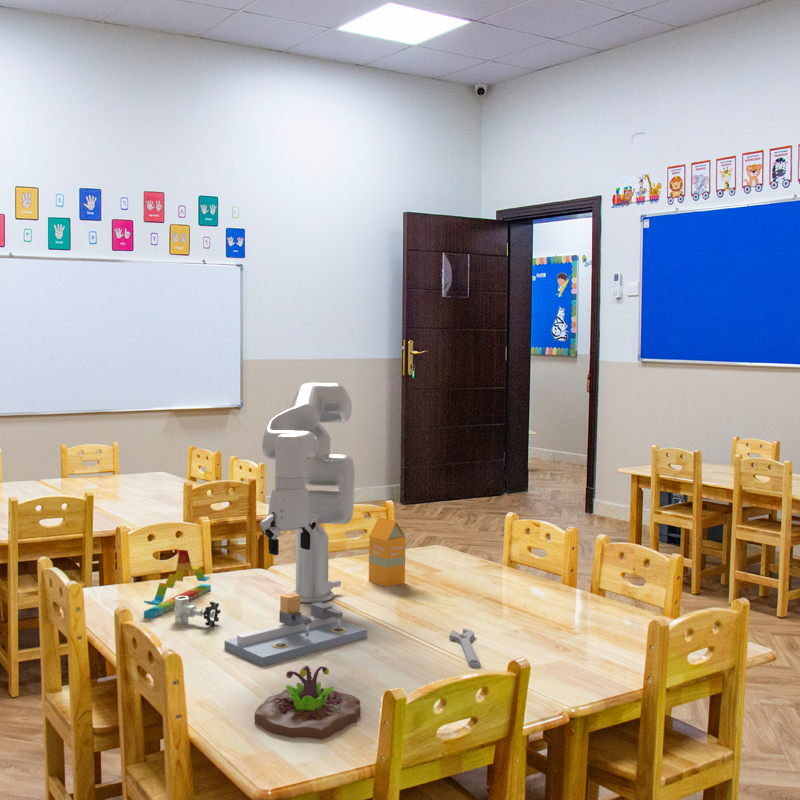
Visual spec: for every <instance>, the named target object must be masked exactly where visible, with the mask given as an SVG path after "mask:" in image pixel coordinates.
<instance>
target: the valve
mask: <svg viewBox="0 0 800 800" xmlns="http://www.w3.org/2000/svg"><path fill="white" fill-rule="evenodd" d="M177 596H178V595H177ZM189 604H190V603H189V597H187V596H178V597H176V598H175V607H174V608H173V613H174V617H175V618H174V621H175V622H174V623H175V624H187V623H189V618H194V617H195V616H199V617H203V619H204V620H206V621H205V623H204V624H205V626H206V627H207V626H208V627H215V625H216V624H215V622H216V623H218V622H219V621H220V618H219V617H218V616H219V614H221V609H220V608H219V605H220V604H219V602H215V601H210V602H209V605H210V606H207V605H206V606H205V609H203V608H197V606H196V605H192V604H191V605H189ZM218 608H219V609H218ZM211 618H212V619H211Z"/></svg>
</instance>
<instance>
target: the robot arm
mask: <svg viewBox="0 0 800 800" xmlns="http://www.w3.org/2000/svg"><path fill="white" fill-rule="evenodd" d="M352 410H353V407H352V401H351V397H350V395H349V392H348V391H347V389H346V387H344V386H343V385H342V384H339V383H336V382H308V383H304V384H301V385H300V386H298V388H297V390H296V392H295V394H294V398H293V400H292V404H291V406H290V408H289V409H287V410H285V411H283V412H281V413H279V414H277V415H275V416H274V417H272V419H270V421H269V422H268V423H267V425H266V428H265V431H264V433H263V437H262V443H261V451H262V453H263V455H264V456H265V457H266V458H267V459H270V460H275V461H274V462H275V464H274V465H275V467H274V468H275V469H274V470H275V472H274V473H275V476H274V479H275V480H274V489H272V490H271V492H270V493H271V494H270V497H269V504H268V515H267V516H266V517H265V518H264V519H262V520H261V521H260V522H259V526H260V528H261V530H262V533H263V534H264V535H265V537H266V538H267V539H268V553H269V555H271V556H272V555H273V556H279V553H280V552H279V547H280V544H279V539H278V537H279V535H280V534H281V532H283V531H289V530H290V531H293V530H295V538H296V539H295V590H292V591H291V592H290V593H295V594H298V595H301V598H300V603H307V604H308V603H310V604H313V603H318V602H322V603H323V602H328V601H330V600H332V599H333V598H334V592H333V591H332V590H333V588H339V587H341V586H342V583H341V581H340V579H339V580H338V579H337V580H334V581H332V580H331V579H329V555H330V554H329V553H330V550H329V547H330V546H329V545H330V543H329V542H330V541H329V536H328V533H327V532H326V530H325V529H324V528H323V526H322V524H323V525H324V524H328V525H329V524H331V525H332V524H335V525H342V524H343V525H346V524H349V523H350V522H351V521H352V519H353V516H354V503H355V474H356V473H355V471H356V470H355V464H354V461H353V459H352V457H351V456H350V455H347V454H337V453H334V454H332V453H331V436H330V434H329V433H328V432H327V430H326V428H325V427H324V426H323V425H322V424H321V423H325V424H326V423H329V424H331V423H332V424H339V423H340V424H342V423H343V424H344V423H347V422H348V421H349V420H350V418H351V416H352V412H353V411H352ZM306 485H307V486H310V487H311V486H312V487H313V486H314V487H332V488H333V487H335V488H337V489H338V490H318V489H317V490H314V489H313V490H312V489H311V490H308V488H307V487H306Z"/></svg>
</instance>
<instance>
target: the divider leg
mask: <svg viewBox="0 0 800 800" xmlns="http://www.w3.org/2000/svg"><path fill="white" fill-rule="evenodd" d="M300 598H301V595H298V594H295V593H291V592H290V593H287V594H283V595H280V598H279V599H280V607H279V618H278V619H279V623H282V624H286V625H289V626H295V625H299V624H301V623H303V624H306V636H309V624H311V617H308V616H306V615H302V612H301V602H300Z"/></svg>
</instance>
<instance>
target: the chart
mask: <svg viewBox="0 0 800 800" xmlns="http://www.w3.org/2000/svg"><path fill="white" fill-rule="evenodd" d="M178 551H179V552H178V557H177V563H176V570H175V574H172V573H169V575H168V577H167V579H166V582H165V583H163V582H159V583H158V587H157V590H156V594H155V597H154V599H153V600H151V601H150V600H144V601H143V603H144V604H145V603H146V604H147V605H152V606H151V607H149V608H148V609H145V610H143V617H144V618H148V619H155V618H157V617H159V616H160V615H163V614H165V613H167V612H169V611H171V610H174V607H175V598H176V597H178V596H187V597H189V601H192V600H193V599H196V598H198V597H200V596H202V595H204V594H206V593H207V592H210V591H211V589H212V587H211V585H212V584H207V583H201V584H199V585H197V586H195V587H193V588H191V589H188V590H186V591H184V592H181V593H180V594H178V595H176V596H174V597H172V598H171V597H170V599H167V600H164V599H165V595H166V594H167V593H166V592H167V589H174V586H175V584H176V582H184V574H185V570H186V571H187V570H188V571H194V573H195V576H196V577H195V578H196V579H197V580H196V581H197V582H198V581H199V582H207V581H208V580H209V579H210V578H211V577H210V576H205V575H204V572H203V568H202V566H201V565H192V562H191V559H190V555H189V551H188V549H187V550H186V549H179V550H178Z"/></svg>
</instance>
